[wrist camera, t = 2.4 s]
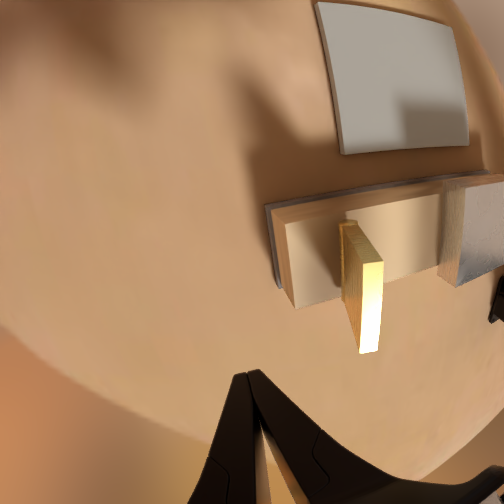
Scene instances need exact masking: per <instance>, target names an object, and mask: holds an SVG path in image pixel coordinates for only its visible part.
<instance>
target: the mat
mask: <svg viewBox="0 0 504 504" xmlns="http://www.w3.org/2000/svg"><path fill="white" fill-rule="evenodd" d="M314 7H315V11H316V15H317V20H318V24H319V28H320V33H321V37H322V42H323V46H324V51H325V56H326V61H327V67H328V72H329V78H330V83H331V89H332V95H333V102H334V108H335V115H336V122H337V129H338V137H339V145H340V154H343V155H348V154H356V153H365V152H375V151H385V150H397V149H409V148H424V147H443V146H469V129H468V117H467V107H466V98H465V91H464V84H463V77H462V71H461V66H460V61H459V56H458V51H457V46H456V42H455V38H454V34H453V30H452V27H449V26H446V25H443V24H439V23H436V22H433V21H429V20H426V19H422V18H418V17H414V16H410V15H406V14H401V13H397V12H392V11H387V10H381V9H376V8H370V7H363V6H356V5H348V4H338V3H327V2H317V3H316V4H315V5H314Z"/></svg>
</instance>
